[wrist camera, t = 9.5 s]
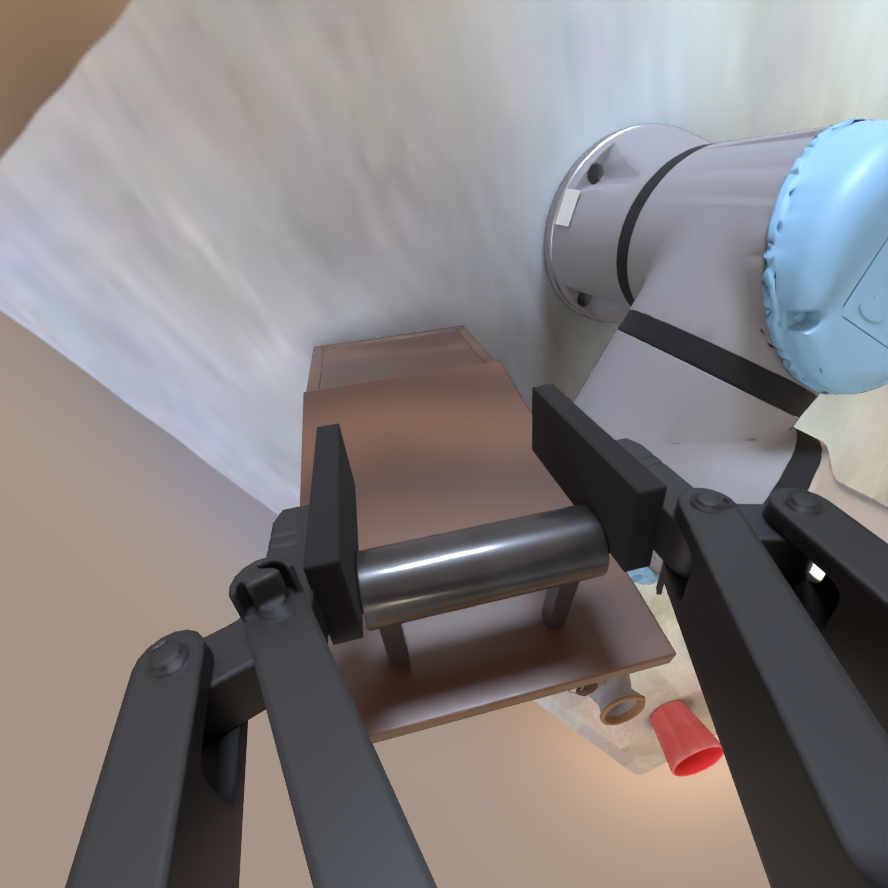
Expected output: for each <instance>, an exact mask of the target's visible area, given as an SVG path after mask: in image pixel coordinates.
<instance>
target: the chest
mask: <svg viewBox="0 0 888 888" xmlns="http://www.w3.org/2000/svg"><path fill="white" fill-rule="evenodd" d="M492 362H496V361H495V360H494V359H493V358H492V357H491V356H490V355H489V354H488V353H487V352H486V351H485V350H484V348H483V347H482V346H481V345H480V344H479V343H478V342H477V341H476V340H475V339H474V338H473V337H472V336H471V334H470V333H469V332H468V331H467V330H466V329H465V328H464V327H463V326H458V327H452V328H445V329H438V330H431V331H424V332H417V333H410V334H403V335H396V336H389V337H382V338H375V339H368V340H362V341H355V342H348V343H341V344H334V345H327V346H320V347H314V349H313V355H312V361H311V367H310V373H309V379H308V385H307V391H306V392H309V391H315V390H321V389H328V388H334V387H340V386H347V385H353V384H359V383H366V382H372V381H378V380H385V379H391V378H397V377H404V376H410V375H416V374H423V373H429V372H435V371H442V370H448V369H454V368H461V367H467V366H473V365H480V364H486V363H492Z"/></svg>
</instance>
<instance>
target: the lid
mask: <svg viewBox="0 0 888 888" xmlns="http://www.w3.org/2000/svg"><path fill="white" fill-rule="evenodd" d="M337 423H339V425H340V429H341V433H342V437H343V441H344V444H345V448H346V452H347V456H348V460H349V463H350V467H351V471H352V475H353V479H354V483H355V489H356V507H357V526H358V544H359V551H357V552H356V557H355V565H356V578H357V586H358V593H359V599H360V605H361V610H362V617H363V636H364V638H360V639H356V640H352V641H348V642H344V643H340V644H336V645H333V644H332V641H331V639H330V636H329V635H328V646H329V648H330V650H331V652H332V655H333V657H334V659H335V661H336V664H337V666H338V668H339V670H340V672H341V675H342V677H343V679H344V681H345V684H346V686H347V688H348V690H349V693H350V695H351V697H352V699H353V701H354V704H355V706H356V708H357V710H358V713H359V715H360V717H361V719H362V721H363V724H364V726H365V728H366V730H367V733H368V735H369V737H370V739H371V741H372V744H373V743H376V742H380V741H384V740H387V739H391V738H395V737H398V736H402V735H406V734H409V733H413V732H417V731H421V730H424V729H427V728H431V727H435V726H439V725H443V724H446V723H450V722H454V721H457V720H461V719H465V718H468V717H472V716H476V715H479V714H483V713H487V712H490V711H494V710H497V709H501V708H505V707H509V706H512V705H516V704H520V703H523V702H527V701H531V700H534V699H538V698H542V697H545V696H549V695H553V694H556V693H560V692H564V691H567V690H571V689H575V688H578V687H582V686H586V685H590V684H593V683H597V682H601V681H604V680H608V679H612V678H615V677H619V676H623V675H626V674H630V673H634V672H637V671H641V670H645V669H648V668H652V667H656V666H659V665H663V664H667V663H669V662H670V661H671V660H672V659H673V658H674V656H675V655H676V652H675V651H674V649H673V647H672V646H671V644H670V642H669V641H668V639H667V637H666V636H665V634H664V632H663V631H662V629H661V627H660V626H659V624H658V622H657V621H656V619H655V617H654V616H653V614H652V612H651V611H650V609H649V607H648V606H647V604H646V602H645V601H644V599H643V597H642V596H641V594H640V592H639V591H638V589H637V587H636V586H635V584H634V582H633V581H632V579H631V578H630V576H629V574H628V573H627V572H624V571H623V570H622V569H621V567H620V566H619V565H618V563H617V562H616V561H615V559H614V558H613V557H612V555H611V554H610V553H609V547H608V542H607V538H606V535H605V532H604V530H603V527H602V525H601V523H600V521H599V519H598V517H597V516H596V514H595V513H594V512H593V511H592V510H591V509H590V508H589V507H588V506H586V505H583V504H578V505H573V503H572V502H571V501H570V500H569V498H568V497H567V496H566V494H565V493H564V492H563V490H562V489H561V488H560V486H559V485H558V484H557V482H556V481H555V480H554V478H553V477H552V476H551V474H550V473H549V472H548V470H547V469H546V468H545V466H544V465H543V464H542V462H541V461H540V460H539V458H538V457H537V456H536V454H535V453H534V452H533V450H532V413H531V411H530V410H529V408H528V406H527V405H526V403H525V401H524V400H523V398H522V396H521V395H520V393H519V391H518V390H517V388H516V386H515V385H514V383H513V381H512V380H511V378H510V376H509V375H508V373H507V371H506V370H505V368H504V366H503V365H502V363H501V362H500V361H499V362H492V363H486V364H480V365H473V366H467V367H461V368H454V369H448V370H442V371H435V372H429V373H423V374H416V375H410V376H404V377H397V378H391V379H385V380H378V381H372V382H366V383H359V384H353V385H347V386H340V387H334V388H328V389H321V390H315V391H309V392H304V397H303V429H302V462H301V494H300V507H301V506H305V505H309V503H310V492H311V482H312V472H313V462H314V451H315V441H316V431H317V427H321V426H326V425H331V424H337Z"/></svg>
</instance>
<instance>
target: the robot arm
mask: <svg viewBox="0 0 888 888" xmlns="http://www.w3.org/2000/svg"><path fill="white" fill-rule="evenodd" d="M544 255H545V263H546V268H547V272H548V275H549V278H550V281H551V283H552V285H553V287H554V289H555V291H556V292H557V294H558V295H559V297H560V298H561V299H562V300H563V301H564V302H565V303H566V304H567V305H568V306H569V307H570V308H572V309H573V310H575V311H576V312H578V313H580V314H582V315H584V316H586V317H588V318H591V319H594V320H597V321H601V322H609V323H621V325H620V326H619V328H618V329H619V330H618V329H617V330H616V332H615V334H614V335H613V337H612V339H611V340H610V342H609V344H608V345H607V347H606V349H605V350H604V352H603V354H602V355H601V357H600V359H599V360H598V362H597V364H596V365H595V367H594V369H593V370H592V372H591V374H590V375H589V377H588V379H587V380H586V382H585V384H584V385H583V387H582V389H581V390H580V392H579V394H578V395H577V397H576V399H575V400H574V402H572V401H571V400H570V399H569V398H567V397H566V396H565V395H564V394H563V393H562V392H561V391H560V390H558V389H557V388H556V387H555V386H554V385H553V384H548V385H542V386H537V387H533V396H532V450H533V452H534V453H535V454H536V456H537V457H538V458H539V460H540V461H541V462H542V464H543V465H544V466H545V468H546V469H547V470H548V472H549V473H550V474H551V476H552V477H553V478H554V480H555V481H556V482H557V484H558V485H559V486H560V488H561V489H562V490H563V492H564V493H565V494H566V496H567V497H568V498H569V500H570V501H571V502H572V503H573V505H578V504H583V505H586V506H588V507H589V508H590V509H591V510H592V511H593V512H594V513H595V514H596V516H597V517H598V519H599V521H600V523H601V525H602V527H603V530H604V532H605V535H606V538H607V542H608V547H609V553H610V554H611V555H612V557H613V558H614V559H615V561H616V562H617V563H618V565H619V566H620V567H621V569H622V570H623V571H624V572H627V573H628V574H629V576H630V578H631V579H632V580H633V581H634V582H635V583H639V584H648V585H649V584H654V583H656V582H657V581H658V583H657V587H656V590H657V594H661V593H662V589H663V585H664V584H665V587H666V589H667V592H668V593H667V594H668V595H669V598H670V601H671V604H672V607H673V609H674V612H675V615H676V618H677V621H678V624H679V627H680V629H681V632H682V635H683V638H684V641H685V644H686V647H687V649H688V652H689V655H690V658H691V661H692V664H693V667H694V669H695V672H696V675H697V678H698V681H699V684H700V686H701V689H702V692H703V695H704V698H705V701H706V704H707V706H708V709H709V712H710V715H711V718H712V721H713V724H714V726H715V729H716V732H717V735H718V738H719V741H720V744H721V746H722V749H723V752H724V755H725V758H726V760H727V764H728V766H729V769H730V772H731V775H732V778H733V781H734V783H735V786H736V789H737V792H738V795H739V798H740V800H741V803H742V806H743V809H744V812H745V815H746V818H747V821H748V823H749V826H750V829H751V832H752V835H753V838H754V841H755V843H756V846H757V849H758V852H759V855H760V858H761V861H762V863H763V866H764V869H765V872H766V875H767V878H768V881H769V883H770V886H771V888H888V507H887V506H885V505H883V504H881V503H879V502H877V501H875V500H873V499H871V498H869V497H868V496H866V495H864V494H862V493H860V492H858V491H856V490H854V489H852V488H850V487H848V486H846V485H845V484H843V483H841V482H839V481H837V479H836V478H835V476H834V475H833V472H832V467H831V462H830V457H829V452H828V449H827V446H826V445H825V444H824V443H823V442H822V441H820V440H818V439H816V438H814V437H812V436H810V435H808V434H806V433H804V432H802V431H800V430H798V429H796V428H794V427H793V426H794V425H795V423H796V422H797V420H798V419H799V418H800V416H801V415H802V414H803V413H804V412H805V410H806V409H807V408H808V407H809V406H810V405H811V403H812V402H813V401H814V400H815V399H816V398H817V397H818V396H819V395H820V393H822V394H837V395H838V394H857V393H863V392H866V391H869V390H874V389H876V388H879V387H881V386H883V385H885V384H886V383H888V120H871V119H866V120H865V119H863V118H860V119H850V120H846V121H843V122H840V123H838V124H835V125H831V126H827V127H820V128H813V129H807V130H800V131H793V132H786V133H780V134H773V135H766V136H759V137H752V138H746V139H739V140H732V141H725V142H719V143H711V142H709V141H707V140H705V139H703V138H701V137H699V136H697V135H695V134H692V133H690V132H688V131H686V130H684V129H681V128H679V127H675V126H671V125H665V124H644V125H638V126H634V127H629V128H626V129H622V130H619V131H617V132H614V133H612V134H610V135H608V136H606V137H604V138H603V139H601V140H600V141H598V142H597V143H595V144H594V145H593V146H592V147H590V148H589V149H588V150H587V151H586V152H585V153H584V154H583V155H582V156H581V157H580V158H579V159H578V160H577V161H576V162H575V164H574V165H573V166H572V167H571V169H570V170H569V171H568V173H567V174H566V176H565V178H564V179H563V181H562V182H561V184H560V186H559V188H558V190H557V192H556V194H555V197H554V199H553V202H552V204H551V207H550V210H549V214H548V218H547V222H546V228H545V237H544ZM626 333H627V334H626ZM628 334H629V335H628ZM630 335H631V336H630ZM632 336H633V337H632ZM634 337H636V338H637V339H636V338H634ZM638 339H639V340H638ZM640 340H641V341H640ZM642 341H643V342H642ZM644 342H646V343H648V344H646V343H644ZM649 344H650V345H649ZM655 347H656V348H655ZM657 348H658V349H657ZM659 349H660V350H659ZM661 350H662V351H661ZM663 351H664V352H663ZM665 352H666V353H665ZM667 353H668V354H667ZM669 354H670V355H669ZM671 355H672V356H671ZM673 356H674V357H673ZM675 357H676V358H675ZM677 358H678V359H677ZM679 359H680V360H679ZM681 360H682V361H681ZM683 361H684V362H683ZM685 362H686V363H685ZM687 363H688V364H687ZM689 364H690V365H689ZM691 365H692V366H691ZM693 366H694V367H693ZM695 367H696V368H695ZM697 368H698V369H697ZM699 369H700V370H699ZM701 370H702V371H701ZM795 416H796V417H795ZM797 417H798V418H797ZM268 548H269V551H268V552H267V557H266V558H264V559H260V560H257V561H255V562H254V563H251V564H250V565H248V566H247V567H245V568H244V569H243V570H241V571H240V573H238V574H237V575H236V576H235V578H234V580H233V581H232V583H231V585H230V588H229V597H230V599H231V601H232V602H233V604H234V606H235V608H236V610H237V611H238V613H239V615H240V617H241V618H239V619H238V620H237V621H235V622H233V623H232V624H230V625H228V626H227V627H225V628H223V629H221V630H219V631H217V632H215V633H213V634H211V635H209V636H207V637H205V638H203V637H202V636H201V635H200V634H199V633H198V632H196V631H191V630H184V631H178V632H174V633H171V634H169V635H167V636H165V637H163V638H161V639H160V640H158V641H157V642H155V643H154V644H153V645H151V646H150V647H149V648H148V649H147V650H146V651H145V652H144V653H143V654H142V656H141V657H140V658H139V659H138V660H137V662H136V664H135V667H134V668H133V670H132V672H131V676H130V679H129V682H128V686H127V689H126V692H125V695H124V698H123V702H122V705H121V708H120V712H119V715H118V718H117V721H116V724H115V728H114V731H113V734H112V737H111V740H110V744H109V747H108V751H107V753H106V757H105V760H104V763H103V766H102V770H101V773H100V776H99V780H98V783H97V786H96V789H95V792H94V796H93V799H92V802H91V805H90V809H89V812H88V816H87V818H86V822H85V825H84V828H83V831H82V835H81V838H80V841H79V844H78V848H77V851H76V854H75V857H74V861H73V864H72V867H71V870H70V874H69V877H68V880H67V883H66V887H65V888H239V874H240V856H241V838H242V819H243V802H244V783H245V782H244V781H245V765H246V746H247V728H248V720H249V719H251V718H252V717H254V716H255V715H257V714H259V713H261V712H262V711H264V710H267V714H268V718H269V721H270V725H271V729H272V733H273V737H274V740H275V744H276V748H277V752H278V756H279V759H280V763H281V766H282V771H283V774H284V778H285V782H286V786H287V789H288V793H289V797H290V801H291V805H292V808H293V812H294V816H295V820H296V824H297V827H298V831H299V835H300V838H301V843H302V846H303V850H304V854H305V858H306V861H307V865H308V869H309V873H310V877H311V880H312V884H313V888H437V886H436V884H435V882H434V879H433V877H432V875H431V873H430V871H429V868H428V866H427V864H426V862H425V860H424V857H423V855H422V853H421V850H420V848H419V846H418V844H417V842H416V839H415V837H414V835H413V833H412V830H411V828H410V826H409V824H408V822H407V819H406V817H405V815H404V813H403V810H402V808H401V806H400V804H399V802H398V799H397V797H396V795H395V793H394V790H393V788H392V786H391V784H390V782H389V779H388V777H387V775H386V773H385V770H384V768H383V766H382V764H381V762H380V759H379V757H378V755H377V753H376V750H375V748H374V746H373V744H372V741H371V739H370V737H369V735H368V733H367V730H366V728H365V726H364V724H363V721H362V719H361V717H360V715H359V713H358V710H357V708H356V706H355V704H354V701H353V699H352V697H351V695H350V693H349V690H348V688H347V686H346V684H345V681H344V679H343V677H342V675H341V672H340V670H339V668H338V666H337V664H336V661H335V659H334V657H333V655H332V652H331V650H330V648H329V646H328V635H329V636H330V639H331V641H332V644H333V645H336V644H340V643H344V642H348V641H352V640H356V639H360V638H364V636H363V617H362V610H361V605H360V599H359V593H358V586H357V578H356V565H355V557H356V552H357V551H359V544H358V526H357V507H356V489H355V483H354V479H353V475H352V471H351V467H350V463H349V460H348V456H347V452H346V448H345V444H344V441H343V437H342V433H341V429H340V425H339V423H337V424H331V425H326V426H321V427H317V431H316V441H315V451H314V462H313V472H312V482H311V492H310V503H309V505H305V506H301V507H296V508H291V509H286V510H283V511H282V512H281V513H280V515H279V516H278V518H277V519H276V520H275V522H274V523H273V527H272V532H271V539H270V542H269V547H268Z"/></svg>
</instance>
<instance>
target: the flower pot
mask: <svg viewBox="0 0 888 888" xmlns="http://www.w3.org/2000/svg"><path fill="white" fill-rule="evenodd" d="M651 721H652V724H653V727H654V729H655V732H656V734H657V737H658V740H659V742H660V745H661V747H662V750H663V752H664V754H665V757H666V759H667V762H668V764H669V767H670V769H671V771H672V773H673V774H674V775H676V776H689V775H693V774H696V773H699V772H701V771H703V770H705V769H707V768H709V767H711V766H712V765H714V764H715V763H716V762H717V761H719V760H720V758H722V756H723V755H724V752H723V749H722V746H721V744H720V742H719V741H718V740H717V739H716V738H715V737H714V735H713V734H712V733H711V732H710V731H709V730H708V729H707V728H706V727H705V725H704V724H703V723H702V722H701V721H700V720H699V719H698V718H697V717H696V716H695V715H694V714H693V713H692V711H691V710H690V709H689V708H688V707H687V706H686V705H685V704H684V703H683V702H681V701H672V702H669V703H666V704H664V705H662V706H660V707H659V708H658V709H657V710H655V711H654V712H653V713H652V715H651Z"/></svg>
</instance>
